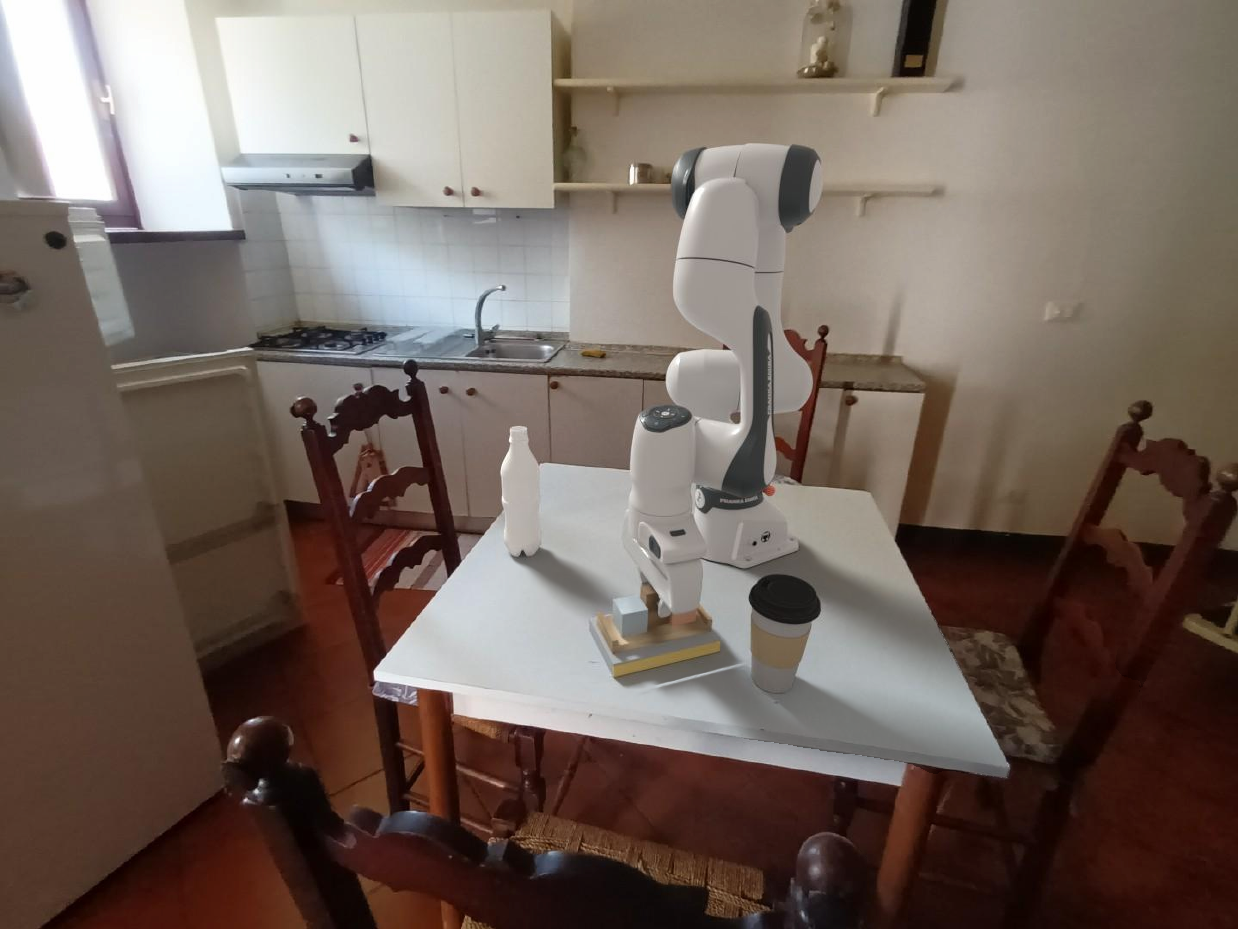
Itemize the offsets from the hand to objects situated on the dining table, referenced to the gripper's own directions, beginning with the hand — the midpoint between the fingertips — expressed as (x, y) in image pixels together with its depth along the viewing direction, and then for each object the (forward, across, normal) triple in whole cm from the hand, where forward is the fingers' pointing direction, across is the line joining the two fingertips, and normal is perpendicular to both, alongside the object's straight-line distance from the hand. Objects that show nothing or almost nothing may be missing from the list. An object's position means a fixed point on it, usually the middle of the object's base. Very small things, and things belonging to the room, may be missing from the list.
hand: (654, 603), depth 90 cm
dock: (+7, 0, 0) cm, 7 cm away
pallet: (+5, 0, 0) cm, 5 cm away
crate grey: (+3, 0, -4) cm, 5 cm away
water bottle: (+7, -33, -13) cm, 36 cm away
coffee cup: (+7, +13, +13) cm, 20 cm away
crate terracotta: (+3, 0, +4) cm, 5 cm away
